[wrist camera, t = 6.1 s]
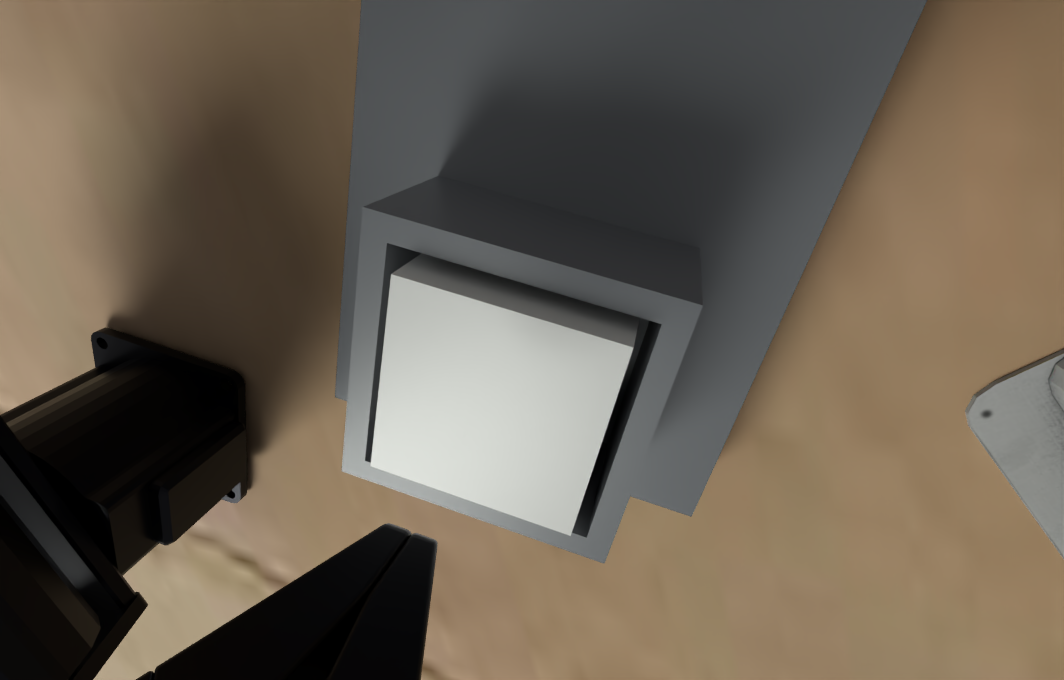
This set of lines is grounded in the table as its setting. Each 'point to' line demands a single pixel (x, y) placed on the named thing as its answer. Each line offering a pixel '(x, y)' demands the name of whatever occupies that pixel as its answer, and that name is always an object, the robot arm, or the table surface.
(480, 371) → the key white
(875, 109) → the key panel
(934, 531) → the table surface
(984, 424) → the emergency button
